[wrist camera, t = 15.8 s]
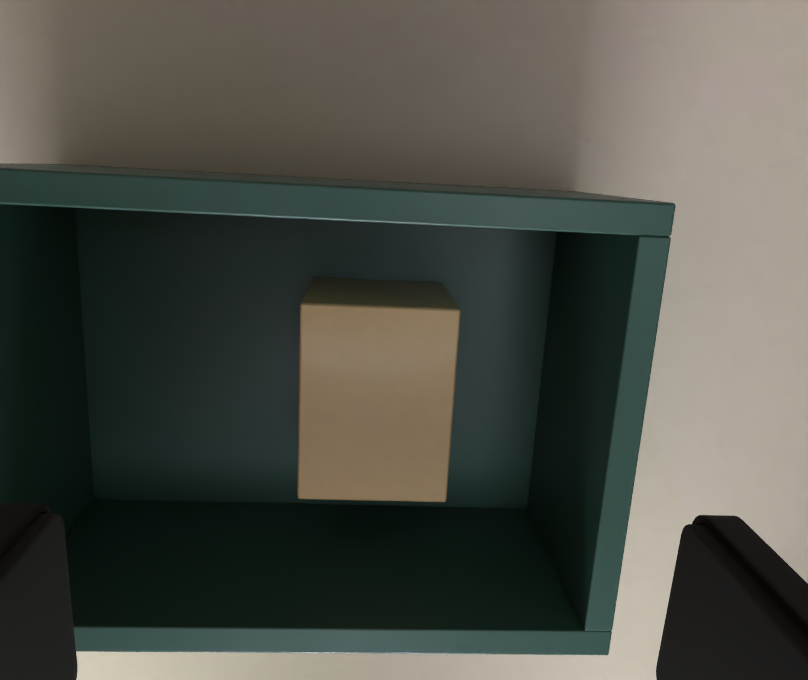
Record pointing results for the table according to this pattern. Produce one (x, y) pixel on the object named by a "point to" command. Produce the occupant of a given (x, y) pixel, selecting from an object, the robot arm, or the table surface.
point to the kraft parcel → (376, 390)
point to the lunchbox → (279, 404)
